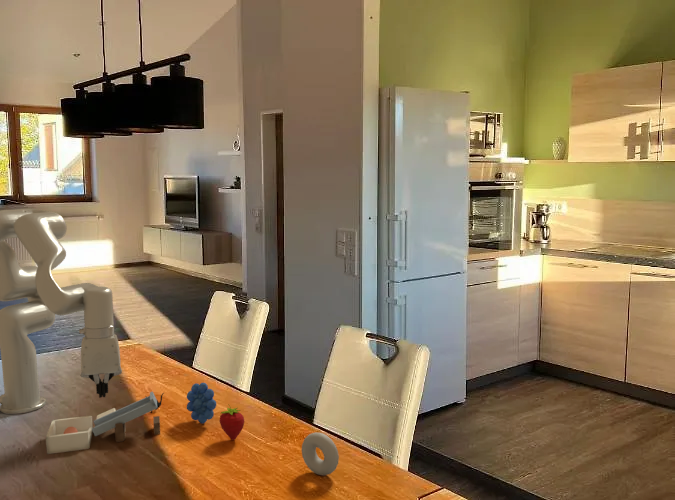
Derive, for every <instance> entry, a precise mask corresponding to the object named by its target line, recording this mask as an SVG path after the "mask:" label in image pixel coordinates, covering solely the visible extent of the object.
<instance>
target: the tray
mask: <svg viewBox="0 0 675 500" xmlns="http://www.w3.org/2000/svg"><path fill="white" fill-rule="evenodd" d="M68 427H75V428H76V429H77V431H78V432H77V433H69V434H64V431H65V429H66V428H68ZM92 428H94V426H93V416H92V415H85V416H84V415H83V416H77V417H76V416H75V417H68V418H67V417H66V418H60V419H52V420H51V424H50V426H49V428H48V430H47V433H46V436H45V445H46V455H51V454H57V453H58V454H59V453H65V452H73V451H79V450H80V451H81V450H82V451H83V450H88V449H90V447H91V442H92V436H93V434H94V433H93V431H92Z"/></svg>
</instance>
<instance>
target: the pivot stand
mask: <svg viewBox="0 0 675 500" xmlns="http://www.w3.org/2000/svg"><path fill="white" fill-rule="evenodd" d="M125 432H127V430H126V423H124V424H123V423H117V424H115V428H114V440H115V442H116V443H120V442H124V441H125V440H126V433H125Z"/></svg>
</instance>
